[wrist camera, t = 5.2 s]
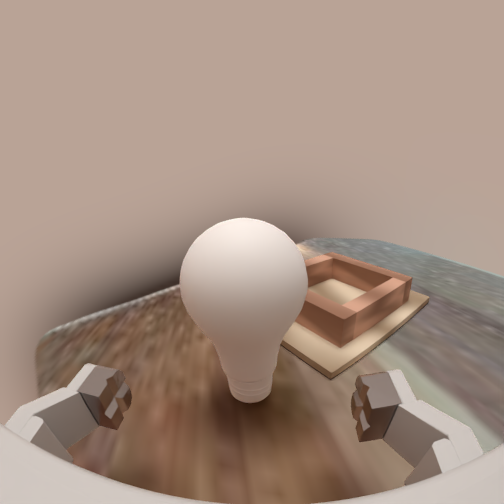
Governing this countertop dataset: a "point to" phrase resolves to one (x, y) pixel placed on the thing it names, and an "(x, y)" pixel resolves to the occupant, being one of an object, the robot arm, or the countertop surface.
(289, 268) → the lightbulb
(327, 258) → the socket block
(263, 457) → the countertop surface
